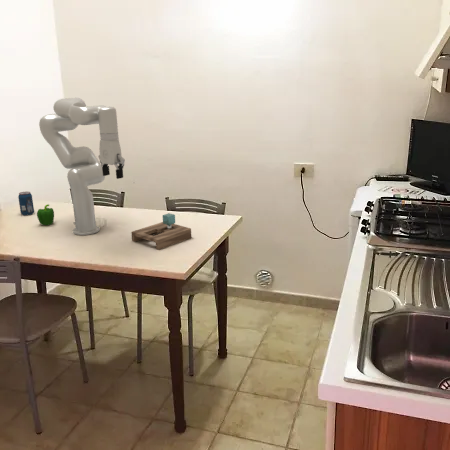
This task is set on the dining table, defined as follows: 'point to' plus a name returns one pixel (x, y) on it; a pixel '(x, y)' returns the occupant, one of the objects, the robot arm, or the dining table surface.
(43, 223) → the bell pepper
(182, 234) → the keyhole plate
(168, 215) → the headed peg
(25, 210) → the soda can
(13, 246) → the dining table surface
